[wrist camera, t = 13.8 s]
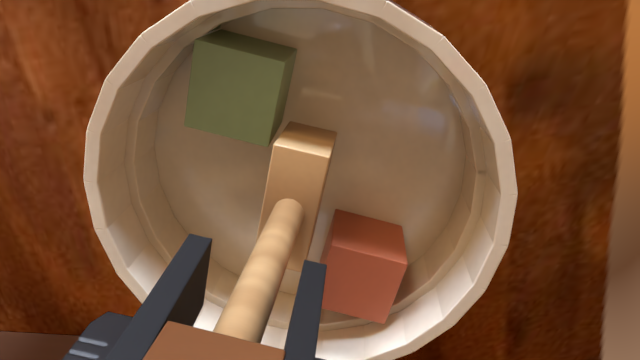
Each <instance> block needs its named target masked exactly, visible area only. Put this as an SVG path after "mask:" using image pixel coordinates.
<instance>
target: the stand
mask: <svg viewBox="0 0 640 360" xmlns="http://www.w3.org/2000/svg"><path fill="white" fill-rule="evenodd" d="M79 337H80V336H75V335H58V334H41V333H23V332H6V331H0V360H62V358H63V357H64V356H65V354H66V353H68V352H69V349H70V348H71V347H72V346H73V344H74V343H75V342H76V341H78V339H79Z"/></svg>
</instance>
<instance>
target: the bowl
mask: <svg viewBox="0 0 640 360" xmlns="http://www.w3.org/2000/svg"><path fill="white" fill-rule="evenodd" d="M220 29H222V30H226V31H230V32H234V33H238V34H242V35H246V36H250V37H253V38H257V39H261V40H265V41H269V42H273V43H277V44H281V45H284V46H288V47H292V48H296V49H297V54H296V59H295V64H294V68H293V73H292V78H291V82H290V87H289V92H288V97H287V101H286V106H285V111H284V115H283V120H282V123H281V125H280V127H279V129H278V130H277V132H276V134H275V136H274V138H273V139H272V141H271V143H270V145H269V146H268V147H264V146H260V145H256V144H252V143H249V142H245V141H241V140H237V139H233V138H229V137H225V136H221V135H217V134H213V133H209V132H205V131H201V130H197V129H194V128H190V127H186V126H184V121H185V113H186V105H187V96H188V88H189V80H190V72H191V64H192V55H193V47H194V40H195V39H196V38H199V37H202V36H204V35H207V34H209V33H212V32H215V31H217V30H220ZM290 121H293V122H297V123H301V124H305V125H310V126H314V127H318V128H322V129H326V130H331V131H335V132H337V137H336V141H335V146H334V150H333V154H332V159H331V163H330V167H329V172H328V176H327V180H326V185H325V189H324V193H323V197H322V202H321V206H320V210H319V215H318V219H317V223H316V228H315V232H314V236H313V239H312V243H311V247H310V250H309V254H308V258H307V260H308V261H313V262H317V263H319V262H320V259H321V256H322V252H323V249H324V245H325V242H326V239H327V235H328V232H329V228H330V225H331V222H332V218H333V215H334V211H335V209H339V210H343V211H347V212H351V213H355V214H358V215H362V216H366V217H370V218H374V219H378V220H381V221H385V222H389V223H393V224H397V225H401V226H402V229H403V235H404V242H405V249H406V255H407V262H408V266H407V268H406V271H405V273H404V276H403V279H402V281H401V284H400V286H399V289H398V291H397V294H396V297H395V299H394V302H393V304H392V307H391V309H390V312H389V315H388V317H387V320H386V322H385V324H381V323H377V322H374V321H370V320H366V319H362V318H358V317H354V316H350V315H346V314H342V313H338V312H334V311H331V310H327V309H323V308H321V316H320V324H319V332H318V339H317V347H316V355H315V357H316V358H321V359H325V360H394V359H397V358H400V357H402V356H405V355H408V354H411V353H413V352H415V351H416V350H418V349H419V348H421V347H423V346H424V345H426V344H427V343H429V342H430V341H432V340H433V339H435V338H436V337H438V336H439V335H441V334H442V333H444V332H445V331H447V330H448V329H450V328H451V327H452V326H454V325H455V324H456V323H457V322H458V321H459V320H460V319H461V318H462V316H463V315H464V314H465V313H466V312H467V311H468V310H469V309H470V308H471V307H472V305H473V304H474V303H475V302H476V301H477V300H478V299H479V298H480V297H481V296H482V295H483V293H484V292H485V291H486V289H487V287H488V285H489V283H490V281H491V279H492V277H493V275H494V273H495V271H496V269H497V267H498V265H499V263H500V262H501V260H502V258H503V256H504V254H505V252H506V250H507V248H508V245H509V241H510V235H511V230H512V224H513V219H514V213H515V207H516V202H517V196H518V195H517V194H518V190H517V182H516V174H515V166H514V158H513V150H512V142H511V139H510V135H509V133H508V131H507V128H506V126H505V124H504V122H503V120H502V117H501V115H500V113H499V111H498V109H497V106H496V104H495V102H494V100H493V98H492V95H491V93H490V91H489V89H488V87H487V85H486V83H485V82H484V81H483V80H482V78H481V77H480V76H479V75H478V74H477V73H476V72H475V70H474V69H473V68H472V67H471V66H470V65H469V64H468V62H467V61H466V60H465V59H464V58H463V57H462V56H461V55H460V53H459V52H458V51H457V50H456V49H455V48H454V47H453V45H452V44H451V43H450V42H449V41H448V40H447V39H446V37H445V36H443V35H442V34H441V33H439V32H438V31H437V30H436V29H434V28H433V27H432V26H430V25H429V24H428V23H426V22H425V21H423V20H422V19H420V18H419V17H417V16H416V15H414V14H412V13H411V12H409V11H408V10H406V9H404V8H403V7H401V6H400V5H398V4H397V3H395V2H393V1H392V0H191V1H188V2H187V3H185V4H184V5H182V6H181V7H179V8H178V9H176V10H175V11H173V12H172V13H170V14H169V15H167V16H166V17H164V18H163V19H162V20H160V21H159V22H157V23H156V24H154V25H153V26H151V27H150V28H148V29H147V30H145V31H144V32H142V33H141V35H139V36H138V37H137V39H136V40H135V41H134V43H133V44H132V45H131V46H130V48H129V49H128V50H127V51H126V53H125V54H124V55H123V57H122V58H121V59H120V60H119V62H118V63H117V64H116V66H115V67H114V68H113V69H112V71H111V72H110V73H109V74H108V76H107V77H106V80H105V81H104V83H103V86H102V89H101V91H100V94H99V97H98V99H97V102H96V105H95V108H94V110H93V113H92V116H91V118H90V121H89V124H88V126H87V131H86V144H85V161H84V178H83V180H84V186H85V190H86V195H87V199H88V204H89V208H90V213H91V217H92V222H93V226H94V229H95V232H96V234H97V236H98V238H99V240H100V242H101V244H102V246H103V248H104V250H105V252H106V254H107V256H108V257H109V259H110V261H111V263H112V265H113V267H114V269H115V271H116V272H117V275H118V276H119V277H120V278H121V280H122V281H123V282H124V283H125V284H126V285H127V287H128V288H129V289H130V290H131V291H132V293H133V294H134V295H135V296H136V297H137V298H138V300H139V301H140V302H141V303H142V304H143V302H144V301H145V299H146V298H147V296H148V295H149V293H150V292H151V290H152V289H153V287H154V286H155V284H156V283H157V281H158V280H159V278H160V277H161V275H162V274H163V272H164V271H165V269H166V268H167V266H168V265H169V263H170V262H171V260H172V259H173V258H174V256H175V255H176V253H177V252H178V250H179V249H180V247H181V246H182V244H183V243H184V241H185V240H186V238H187V237H188V235H189V234H194V235H198V236H203V237H207V238H211V239H212V246H211V253H210V261H209V268H208V275H207V283H206V290H205V297H204V305H203V307H202V309H201V311H200V313H199V315H198V317H197V319H196V321H195V323H194V325H193V327H196V328H200V329H204V330H208V331H213V329H214V327H215V325H216V323H217V321H218V319H219V317H220V315H221V313H222V311H223V309H224V307H225V305H226V303H227V301H228V299H229V297H230V295H231V293H232V291H233V289H234V287H235V285H236V283H237V281H238V279H239V277H240V275H241V273H242V271H243V269H244V267H245V265H246V263H247V261H248V259H249V257H250V255H251V253H252V251H253V249H254V247H255V244H256V238H257V232H258V227H259V221H260V216H261V210H262V205H263V199H264V193H265V188H266V182H267V177H268V171H269V165H270V160H271V154H272V149H273V144H274V143H275V141H276V140H277V139H278V137H279V136H280V134H281V133H282V131H283V130H284V129H285V127H286V126H287V124H288V123H289V122H290ZM300 276H301V272H297V271H293V270H289V269H286V270H285V273H284V276H283V279H282V282H281V285H280V288H279V291H278V294H277V297H276V300H275V303H274V306H273V309H272V311H271V314H270V317H269V320H268V323H267V326H266V329H265V332H264V335H263V338H262V341H261V344H264V345H268V346H272V347H276V348H280V349H284V346H285V341H286V337H287V332H288V327H289V323H290V319H291V314H292V310H293V306H294V301H295V297H296V293H297V289H298V284H299V280H300Z"/></svg>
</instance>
